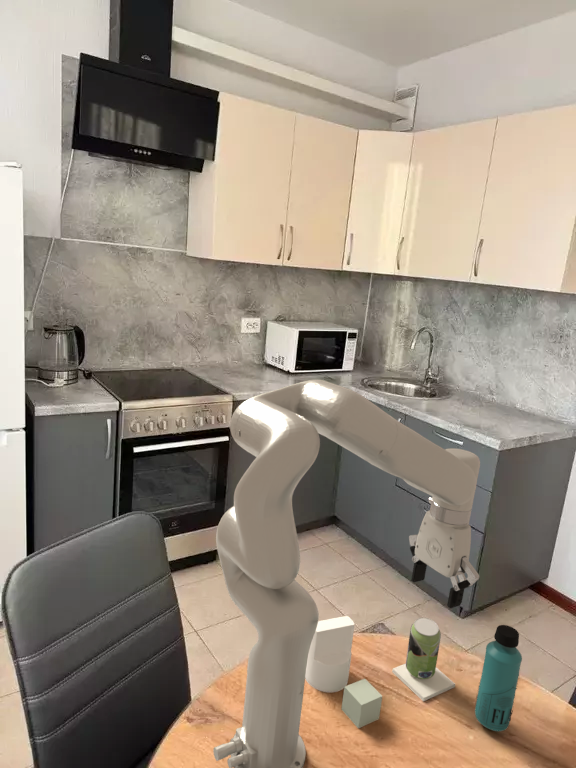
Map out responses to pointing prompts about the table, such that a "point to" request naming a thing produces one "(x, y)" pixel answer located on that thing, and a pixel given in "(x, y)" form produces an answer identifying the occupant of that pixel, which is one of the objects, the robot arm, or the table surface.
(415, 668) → the beverage can
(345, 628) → the cylinder with rectangular tab
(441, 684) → the coaster
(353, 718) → the sage block
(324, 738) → the table surface
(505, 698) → the beverage bottle
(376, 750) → the table surface
